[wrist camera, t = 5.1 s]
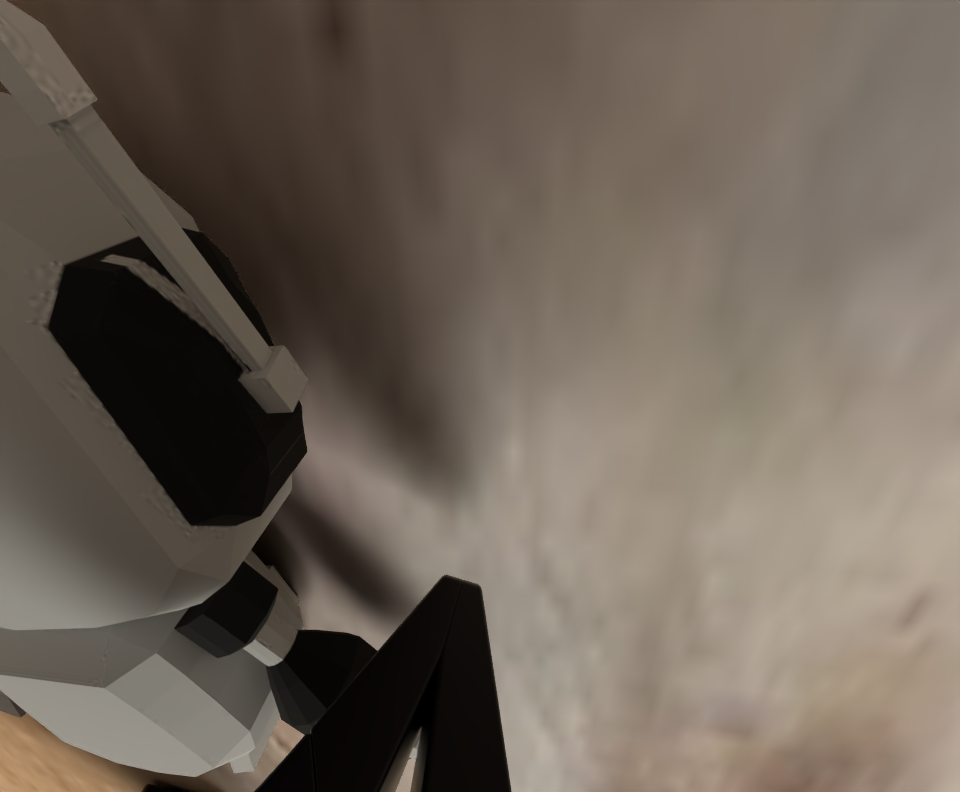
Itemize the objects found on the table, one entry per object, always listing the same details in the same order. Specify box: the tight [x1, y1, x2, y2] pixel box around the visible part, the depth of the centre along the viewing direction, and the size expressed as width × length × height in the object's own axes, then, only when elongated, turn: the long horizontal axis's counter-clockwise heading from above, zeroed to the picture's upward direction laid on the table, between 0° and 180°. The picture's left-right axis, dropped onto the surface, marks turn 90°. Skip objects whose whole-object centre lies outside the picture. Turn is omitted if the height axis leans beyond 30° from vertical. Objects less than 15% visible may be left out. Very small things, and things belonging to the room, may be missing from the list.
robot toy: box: [0, 0, 422, 777], centre depth 10 cm, size 12×4×15 cm
